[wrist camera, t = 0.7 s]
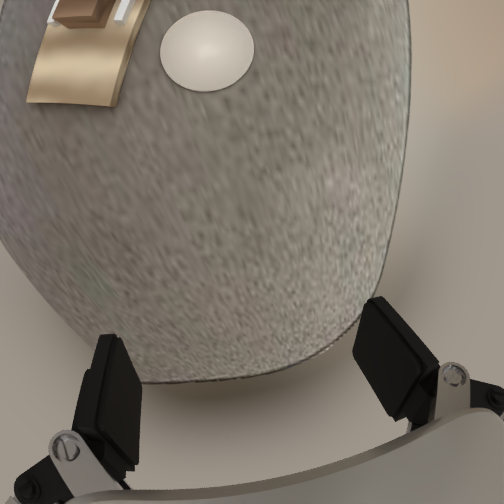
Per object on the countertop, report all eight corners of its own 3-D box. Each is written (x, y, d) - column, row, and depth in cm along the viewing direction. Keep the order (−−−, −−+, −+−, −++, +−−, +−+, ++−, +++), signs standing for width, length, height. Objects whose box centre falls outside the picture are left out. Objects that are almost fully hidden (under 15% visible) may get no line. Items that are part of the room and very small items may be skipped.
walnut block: (82, -6, 18) (68, -20, 14) (119, -7, 20) (108, -23, 15) (68, 28, 20) (51, 18, 16) (104, 28, 21) (91, 15, 17)
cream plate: (176, 6, 24) (176, 3, 23) (262, 24, 27) (264, 23, 27) (150, 83, 28) (149, 82, 28) (239, 100, 31) (240, 100, 31)
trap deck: (100, -57, 15) (92, -73, 11) (180, -58, 19) (179, -76, 14) (37, 102, 25) (17, 102, 21) (116, 107, 29) (104, 105, 24)
